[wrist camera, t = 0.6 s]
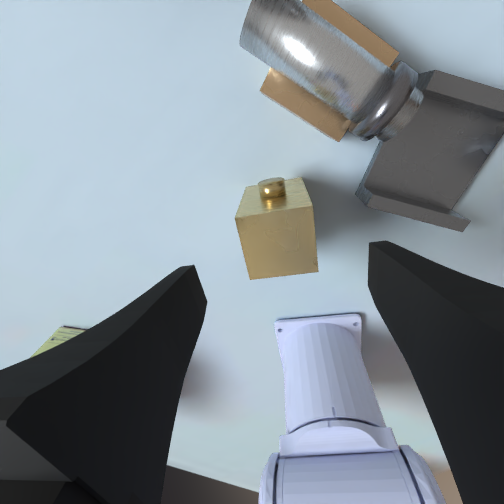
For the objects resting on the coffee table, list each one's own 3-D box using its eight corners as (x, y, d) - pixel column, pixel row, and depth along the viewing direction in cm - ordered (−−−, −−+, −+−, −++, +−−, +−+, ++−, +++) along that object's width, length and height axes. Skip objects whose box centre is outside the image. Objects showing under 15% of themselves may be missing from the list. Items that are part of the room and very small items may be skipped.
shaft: (398, 78, 14) (461, 61, 10) (348, 149, 16) (378, 166, 12) (279, -11, 13) (281, -84, 8) (240, 79, 15) (223, 65, 10)
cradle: (513, 106, 15) (556, 106, 12) (439, 217, 18) (462, 232, 16) (410, 76, 14) (435, 69, 12) (355, 194, 18) (367, 206, 16)
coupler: (307, 237, 20) (319, 283, 15) (258, 244, 21) (252, 290, 15) (300, 165, 17) (311, 189, 12) (243, 175, 18) (231, 203, 13)
